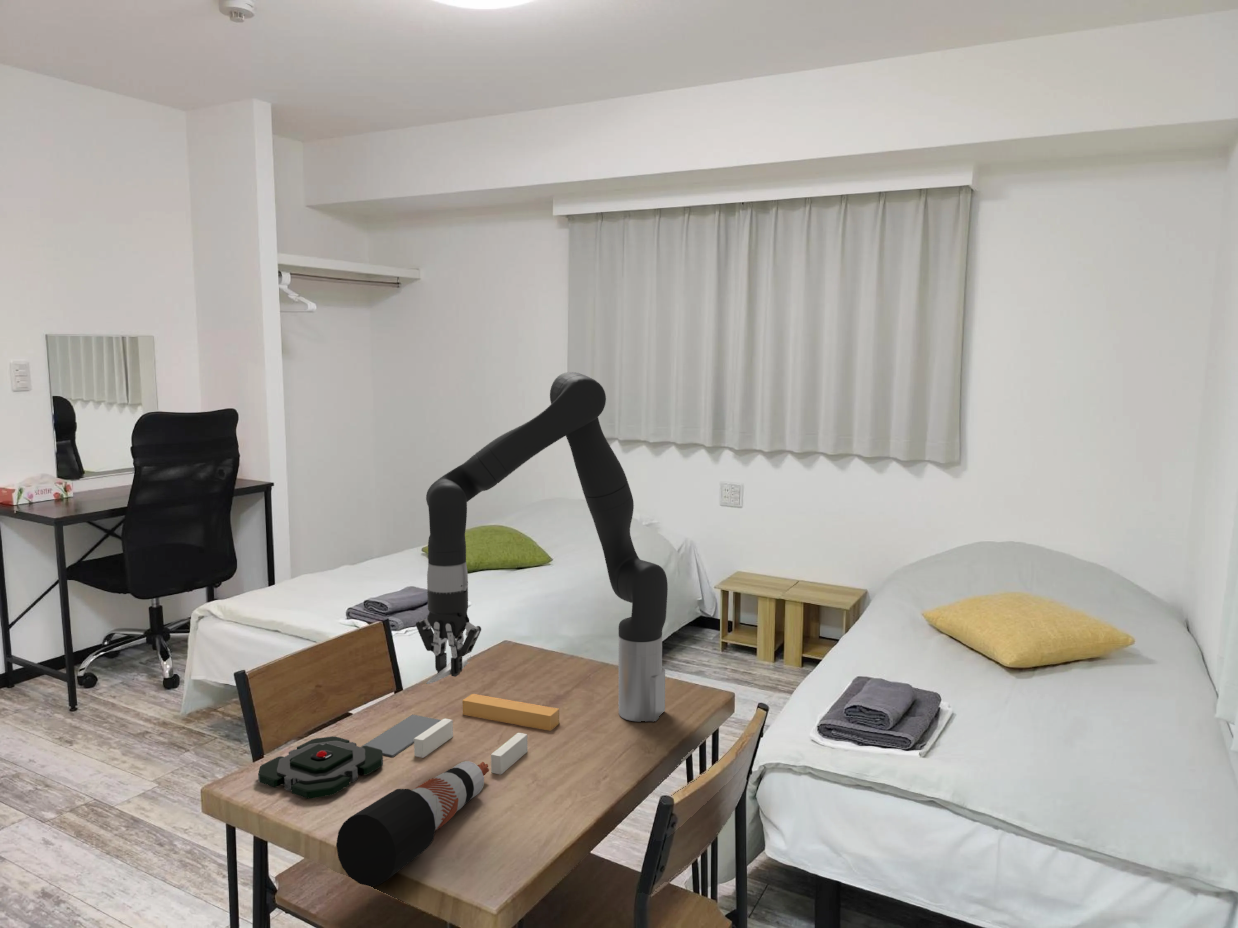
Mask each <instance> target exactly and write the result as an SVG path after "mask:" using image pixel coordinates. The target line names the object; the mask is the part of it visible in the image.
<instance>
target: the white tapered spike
mask: <svg viewBox="0 0 1238 928" xmlns="http://www.w3.org/2000/svg"><path fill="white" fill-rule="evenodd" d="M471 658H472V655H470V654H467V656H464V657H462V670H463V669H464V668H465V667H466V666H467V665H469V664H470V662H469V660H471ZM449 676H451V661H449V662H448V663H447V667H445V668H444V669H442V670H441V671H440V672H439V673H436V674H435V675H433V676H432V677H431V678H430V679H428V681H426V682H425V683H426V684H427V685H429V684H433V683H435V682H438V681H439V680H441V679H444V678H447V677H449Z"/></svg>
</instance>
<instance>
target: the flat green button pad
mask: <svg viewBox="0 0 1238 928" xmlns="http://www.w3.org/2000/svg"><path fill="white" fill-rule="evenodd" d="M357 745H358V744H357V743H356V742H354V741H350V739H346V738H342V737H339V736H336V735H335V736H334V735H333V736H325V737H316V738H312V739H310V740H308V741H306V742H304V743H302V744H300V745H298V746H296V748H294V749H292V750H290V751H288V755H285V756H282V755H281V756H280V755H279V756H276V757H274V758H273V759H270V760H269V761H266V762H265V763H262V764H261V765H260V766H259V768H258V773H257V779H258V780H257V781H258V783H260V784H263V785H266V786H270V787H271V788H278V787H280V786H284V790H286V791H289V792H291V794H293V795H295V796H299V797H302V798H305V799H316V798H317V799H318V798H323V797H330V796H333V795H335V794H337V793H339V792H341V791H342V790H344V789H346V788H347V787H349V786H350V783H353V782H355V781H357V780H358V779H359V777H358V776H359V775H363V776H366V775H369V774H371V773H373V772H374V771H376V770H378V769H380V768H381V767H383V765H384V755H383V753H382V750H381V749H377V748H374V747H370V746H363V745H362V747H361V746H359V745H358V746H357Z"/></svg>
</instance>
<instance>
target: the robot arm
mask: <svg viewBox="0 0 1238 928" xmlns="http://www.w3.org/2000/svg"><path fill="white" fill-rule="evenodd" d="M549 401H550V405H548V407H547V408H546V409H544V410H543V411H542V412H540V413H539V414H538V415H536V416H535V417H534V418H532V419H531V420H529V421H526V422H525V423H523V424H521V425H519V426H517V427H515V428H513V429H511V430H509V431H507V432H505V433H503V434H501V435H500V436H498V437H497V438H495V439H494V440H492V441H491V442H489V443H487V444H486V445H485V446H483V447H482V448H481V449H480V450H478V451H477V452H475V454H473V455H472V456H470V457H469V458H468V459H467V460H466V461H465V462H464V463H462V464H460V465H459V466H457V467H455V468H453V469H452V470H450V471H448V472H447V473H445V474H444V475H442V476H440V477H439V478H438V479H437V480H435V481H434V482H433V483H432V484H431V485H430V486H429V487H428V489H427V492H426V497H425V500H426V501H425V502H426V504H427V506H428V507H427V508H428V518H429V519H428V521H429V522H428V523H429V537H428V542H427V560H428V561H427V565H428V566H427V573H426V576H427V577H426V578H427V579H426V580H427V581H426V582H427V583H426V584H427V587H426V588H427V590H426V591H427V610H428V612H429V613H428V614H427V617H426V618H423V619H421V620H419V621H416V622H415V626H416V629H417V632H418V634H419V636H420V638H421V641H422V643H423V645H424V648H425V650H426V651H427V652H432V653H433V654H434V660H435V661H434V662H435V671H437V673H439V672H440V671H441V670H442V669H444V668H445V667H447V666H448V662H447V661H448V657H447V656H448V655H447V654H448V653H447V652H446V651H447V642H448V646H449V647H450V653H451V657H450V662H451V675H450V676H451V677H455V678H456V677H457V676H460V675H461V673H462V671H463V669H462V658H463V657H466V655H469V654H470V653H471V652H472V651H473V649H474V646H475V645H476V643H477V640H478V638H479V637H480V634H481V632H482V627H481V626H480V625H477V626H475V625H474V624H473V623H472V622H470V617H469V616H468V609H469V580H468V579H469V575H468V567H467V544H466V543H467V541H466V531H467V529H466V528H467V517H468V503H469V501H471V500H472V499H473V498H475V497H476V496H478V495H479V494H480V493H481V492H485V491H488V490H491V489H492V488H494V487H495V486H497V485H498V484H499V483H500V482H502V481H503V480H504V479H505V478H508V476H509V475H511V474H512V473H513V472H515V470H517V469H519V468H520V467H521V466H522V465H524V464H525V463H527V461H529V460H531V459H532V458H533V457H535V456H536V455H538V454H539V453H540V452H542V451H543V450H545V449H547V448H548V447H549V446H551V445H553V444H554V443H556V442H557V441H559V440H561V439H563V438H565V437H566V440H567V442H568V445H569V447H570V451H571V455H572V459H573V462H574V466H575V469H576V473H577V477H578V480H579V482H580V485H581V490H582V493H583V495H584V499H585V502H586V504H587V507H588V510H589V512H590V515H591V517H592V520H593V523H594V527H595V529H596V533H597V537H598V539H599V542H600V544H601V545H600V546H601V549H602V552H603V556H604V560H605V564H606V570H607V575H608V579H609V582H610V587H611V588H612V591H613V592H614V594H615V595H616V597H618V598H619V599H620V600H623V601H624V602H628V603H631V615H630V616H629V617H625V618H623V619H621V621H619V624H618V704H617V706H618V715H619V717H621V718H622V719H623V720H627V721H630V722H631V721H632V722H636V723H637V722H639V723H640V722H641V721H645V722H654V721H655V722H657V720H658V719H659V718H660V717H661V716H662V715H663V714H664V713H665V712H664V711H666V668H664V667H663V629H664V626H665V623H666V620H667V619H666V618H667V603H668V587H669V586H668V578H667V577H668V576H667V573H666V572H665V570H664V568H663V567H662V566H661V565H659V564H656V563H654V562H650V561H646V560H642V559H641V558H640V557H639V556H638V554H637V551H636V549H635V546H634V543H633V540H632V537H631V526H632V525H631V524H632V520H633V517H634V516H633V514H634V506H635V505H634V497H633V494H632V490H631V487H630V485H629V481H628V478H627V476H626V473H625V471H624V469H623V467H622V464H621V462H620V461H619V459H618V457H617V455H616V453H615V452H614V451H613V449H612V447H611V445H610V443H609V442H608V440H607V439H606V438H607V437H605V435H604V431H603V430H602V427H601V424H600V419H599V416H601V414H602V413H603V411H604V409H605V408H606V407H605V406H606V403H607V396H606V392H605V389H604V387H603V386H602V385H601V383H600V382H598V381H597V380H595V379H594V378H592V377H589V376H587V375H586V374H582V373H579V372H574V371H568V372H564V373H562V374H559V375H558V376H557V377H556V378H555V379H554V381H553V382H552V384H551V387H550V391H549ZM464 631H466V632H464ZM464 633H465V635H466V637H464ZM437 673H436V674H437ZM663 712H664V713H663ZM662 713H663V714H662ZM661 714H662V715H661ZM660 715H661V716H660ZM659 716H660V717H659ZM641 723H642V722H641Z"/></svg>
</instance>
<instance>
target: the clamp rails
mask: <svg viewBox="0 0 1238 928" xmlns="http://www.w3.org/2000/svg"><path fill="white" fill-rule="evenodd" d="M440 720H441V721H439V722H438V723H436V724H435V725H433V726H432V727H430V728H429V729H427V730H426V731H424V732H423V733H421V734H420V735H418V736H417V737H415V738H414V743H413V748H414V749H413V752H414V755H413V756H414V757H417V758H421V759H422V758H425V757H427V756H428V755H430V754H431V753H433V751H435V750H437V748H439V747H441V746H442V745H443V744H445V743H447V741H449V740H451V738H453V737H454V726H453V725H454V724H453V723H454V721H453V719H450V718H442V719H440ZM528 750H529V749H528V734H527V733H523V732H517V733H515V734H514V735H513V736H512V737H511V738H509V739H507V741H506V742H505V743H503V744H502V745H501V746H499V748H497V749H496V750H494V751H493V752H492V753H491V754H490V767H491V768H490V769H491V770H490V771H491V773H492V774H496V775H503V774H504V772H506V771H507V770H508V769H509V768H510V767H511V766H513V765H515V763H516V762H517V761H519V760H520V759H521V758H522V757H523V756H524V755H526V754H527V753H528Z"/></svg>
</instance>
